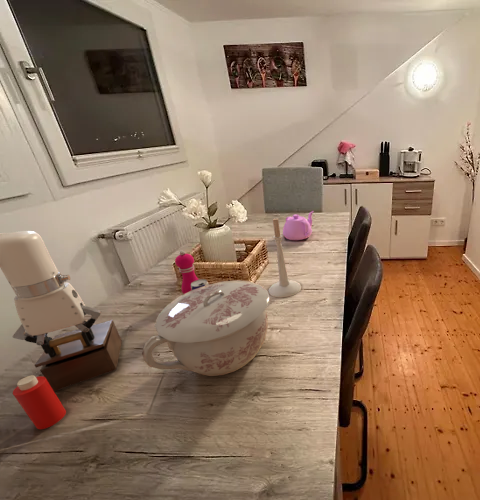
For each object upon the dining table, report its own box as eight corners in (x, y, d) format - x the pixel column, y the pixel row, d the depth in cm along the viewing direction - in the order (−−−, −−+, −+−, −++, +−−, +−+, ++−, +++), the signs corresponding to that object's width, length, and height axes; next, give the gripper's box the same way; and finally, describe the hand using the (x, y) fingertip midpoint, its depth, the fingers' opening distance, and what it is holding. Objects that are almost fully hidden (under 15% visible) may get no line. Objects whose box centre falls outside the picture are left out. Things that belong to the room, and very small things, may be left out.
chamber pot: (278, 318, 95) (269, 263, 87) (276, 383, 70) (264, 315, 62) (189, 332, 90) (171, 275, 82) (153, 407, 65) (122, 337, 57)
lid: (104, 346, 71) (97, 330, 70) (35, 367, 65) (26, 350, 64) (113, 321, 83) (107, 307, 82) (56, 338, 77) (49, 323, 76)
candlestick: (299, 279, 120) (291, 211, 108) (303, 295, 108) (294, 220, 97) (268, 284, 117) (257, 215, 105) (269, 300, 105) (256, 224, 94)
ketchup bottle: (32, 434, 60) (1, 392, 55) (46, 414, 64) (20, 374, 59) (59, 427, 61) (32, 386, 56) (72, 408, 66) (47, 368, 61)
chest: (117, 371, 76) (106, 349, 73) (54, 394, 70) (39, 370, 66) (122, 342, 86) (113, 321, 83) (68, 359, 80) (56, 338, 77)
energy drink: (204, 318, 96) (196, 288, 92) (195, 313, 99) (186, 284, 94) (218, 310, 101) (210, 281, 96) (209, 306, 103) (201, 277, 99)
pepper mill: (209, 295, 110) (196, 249, 102) (191, 304, 104) (176, 256, 97) (198, 291, 114) (186, 245, 106) (180, 299, 108) (166, 252, 100)
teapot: (326, 235, 170) (325, 213, 165) (297, 245, 156) (295, 221, 151) (304, 227, 184) (302, 207, 179) (275, 236, 170) (272, 214, 165)
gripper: (92, 269, 70) (117, 327, 77) (-9, 290, 62) (30, 353, 69) (86, 281, 64) (114, 343, 71) (-27, 306, 56) (18, 373, 63)
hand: (72, 347), depth 70 cm, fingers closed on lid, 6 cm apart
